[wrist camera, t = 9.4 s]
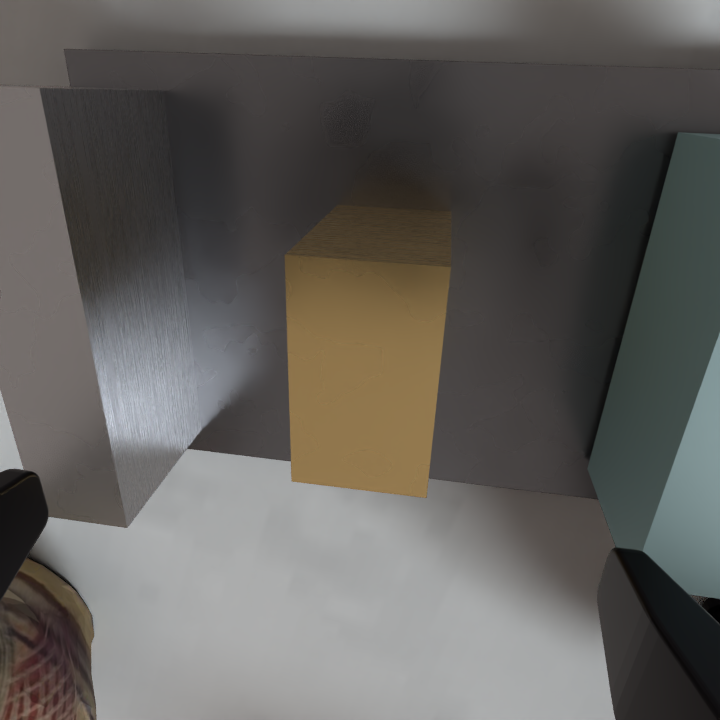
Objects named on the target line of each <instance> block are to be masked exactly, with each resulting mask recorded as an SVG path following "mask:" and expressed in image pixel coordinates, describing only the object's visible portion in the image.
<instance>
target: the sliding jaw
mask: <svg viewBox="0 0 720 720" xmlns="http://www.w3.org/2000/svg"><path fill="white" fill-rule="evenodd" d="M587 469H588V472H589V475H590V477H591V480H592V483H593V486H594V488H595V491H596V494H597V497H598V499H599V502H600V505H601V508H602V510H603V513H604V516H605V519H606V521H607V524H608V527H609V530H610V532H611V535H612V538H613V541H614V543H615V546H616V547H620V548H627V549H635V550H640V551H643V552H645V553H646V554H647V555H648V556H649V557H651V558H652V559H653V560H654V561H655V562H656V563H657V564H658V565H659V566H660V567H661V568H662V569H663V570H664V571H665V572H666V573H667V574H668V575H669V576H670V577H671V578H672V579H673V580H675V581H676V582H677V583H678V584H679V585H680V586H681V587H682V588H683V589H684V590H685V591H686V592H687V593H688V594H689V595H696V596H703V597H710V598H717V599H720V134H704V133H681V132H678V134H677V138H676V142H675V146H674V149H673V153H672V157H671V160H670V164H669V168H668V172H667V175H666V179H665V183H664V186H663V190H662V194H661V198H660V201H659V205H658V209H657V212H656V216H655V220H654V223H653V227H652V231H651V235H650V238H649V242H648V246H647V249H646V253H645V257H644V261H643V264H642V268H641V272H640V275H639V279H638V283H637V287H636V290H635V294H634V298H633V301H632V305H631V309H630V312H629V316H628V320H627V324H626V327H625V331H624V335H623V338H622V342H621V346H620V350H619V353H618V357H617V361H616V364H615V368H614V372H613V376H612V379H611V383H610V387H609V390H608V394H607V398H606V401H605V405H604V409H603V413H602V416H601V420H600V424H599V427H598V431H597V435H596V439H595V442H594V446H593V450H592V453H591V457H590V461H589V465H588V468H587Z"/></svg>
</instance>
